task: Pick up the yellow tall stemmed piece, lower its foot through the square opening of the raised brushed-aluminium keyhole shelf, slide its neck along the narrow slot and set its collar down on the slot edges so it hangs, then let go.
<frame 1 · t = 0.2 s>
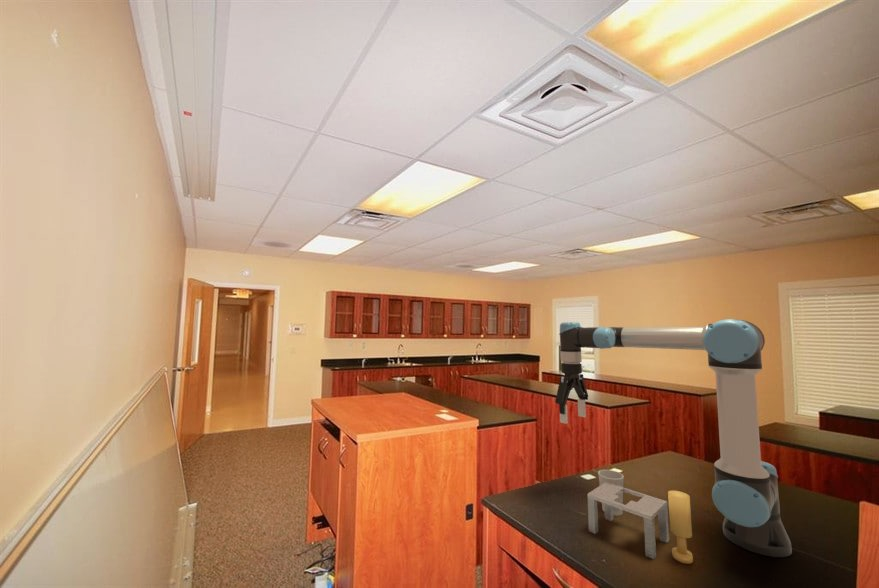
hand: (573, 419, 135), 28 cm above the counter, fingers open, 13 cm apart
cup: (612, 511, 122), on the counter
yellow tall stemmed piece: (682, 558, 97), on the counter
keyhole shelf: (628, 535, 108), on the counter
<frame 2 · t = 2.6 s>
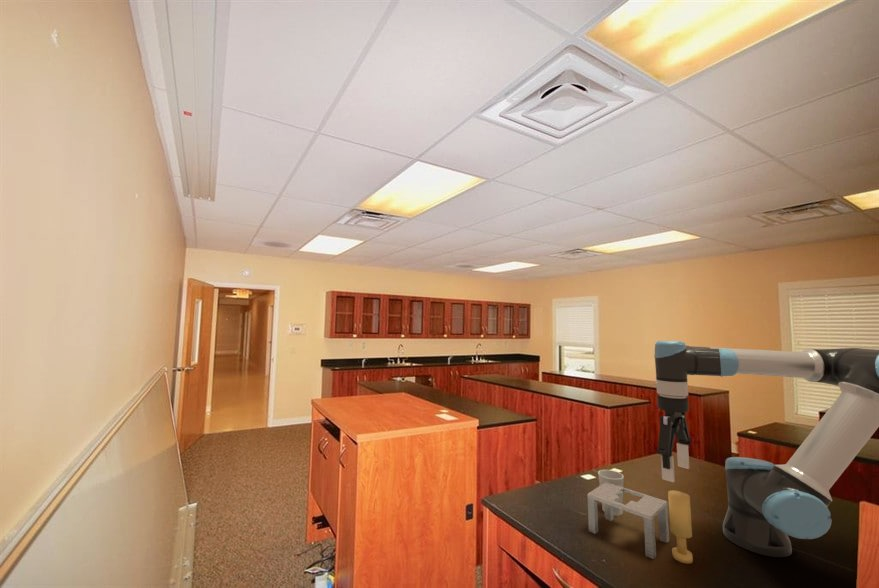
hand: (676, 473, 99), 22 cm above the counter, fingers open, 13 cm apart
nothing on the counter moved.
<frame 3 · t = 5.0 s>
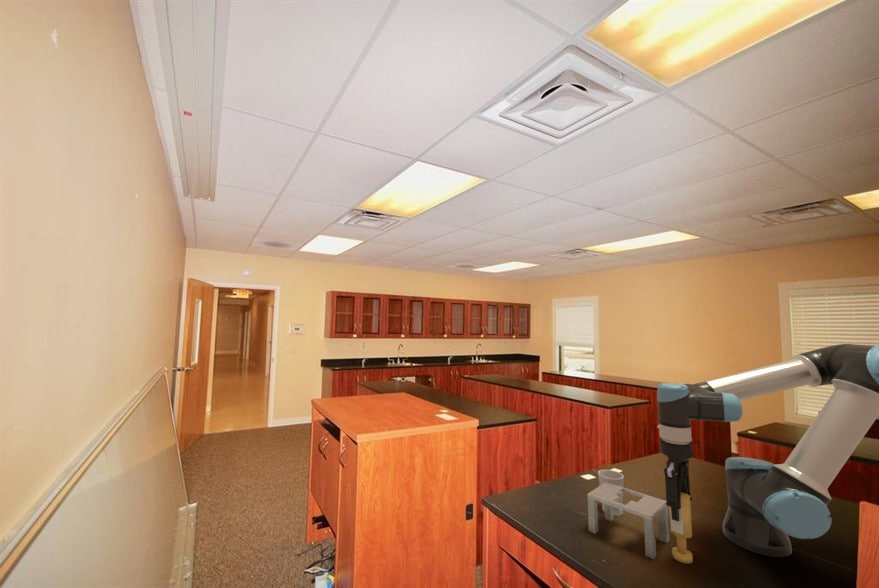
hand: (680, 527, 98), 8 cm above the counter, fingers closed on yellow tall stemmed piece, 5 cm apart
yellow tall stemmed piece: (682, 558, 97), on the counter, touching gripper
everything else where it was.
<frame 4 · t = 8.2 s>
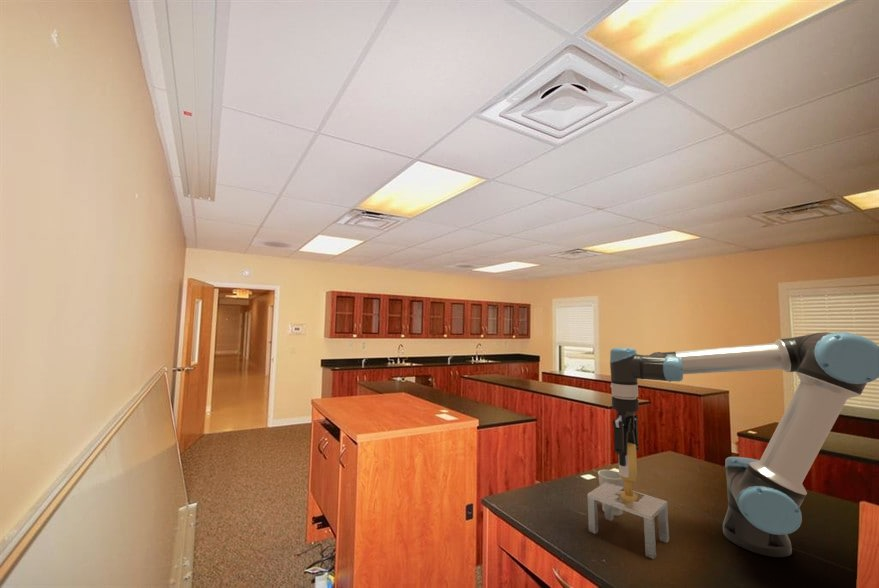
hand: (627, 473, 111), 17 cm above the counter, fingers closed on yellow tall stemmed piece, 5 cm apart
yellow tall stemmed piece: (628, 499, 110), point 10 cm above the counter, touching gripper
everything else where it was.
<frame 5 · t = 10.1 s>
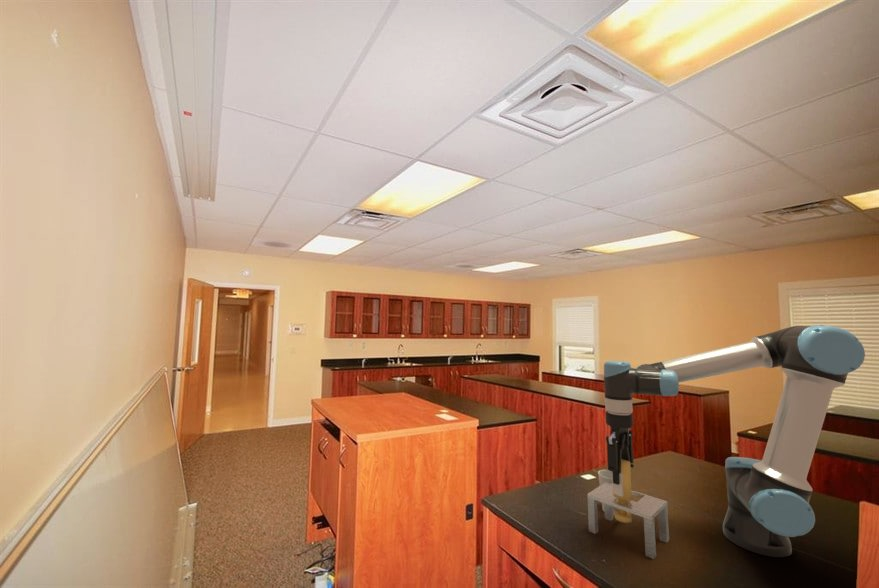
hand: (622, 491, 107), 13 cm above the counter, fingers closed on yellow tall stemmed piece, 5 cm apart
yellow tall stemmed piece: (623, 518, 107), point 6 cm above the counter, touching gripper
everything else where it was.
when the fingers open (12 cm above the counter, at t = 11.4 s): yellow tall stemmed piece stays where it is, resting on keyhole shelf.
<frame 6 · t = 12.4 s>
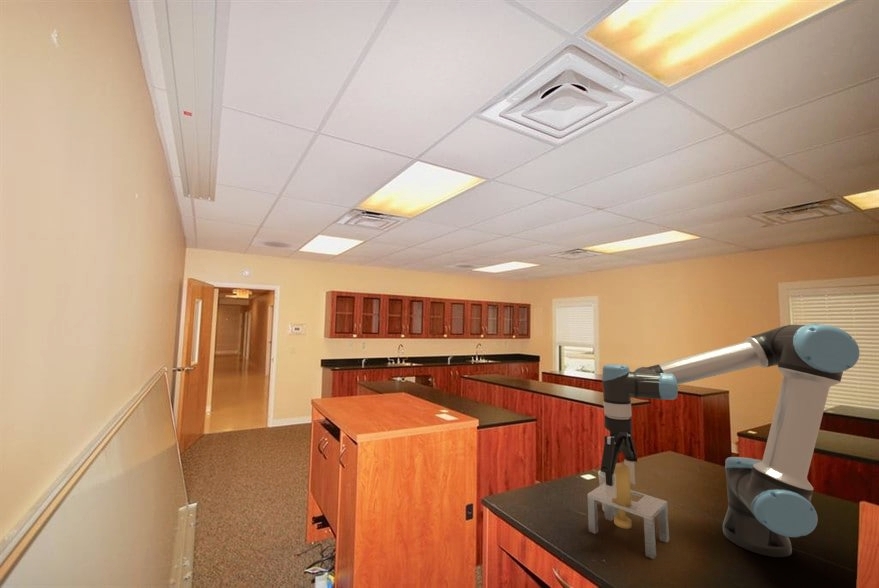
hand: (621, 489, 107), 14 cm above the counter, fingers open, 13 cm apart
yellow tall stemmed piece: (622, 524, 106), point 4 cm above the counter, touching keyhole shelf
everything else where it was.
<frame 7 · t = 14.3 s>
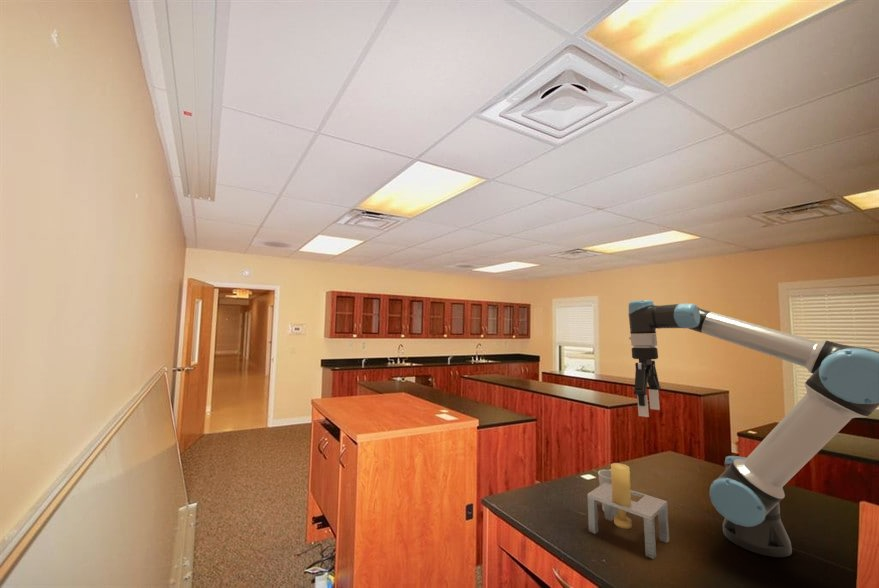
hand: (649, 412, 117), 35 cm above the counter, fingers open, 13 cm apart
nothing on the counter moved.
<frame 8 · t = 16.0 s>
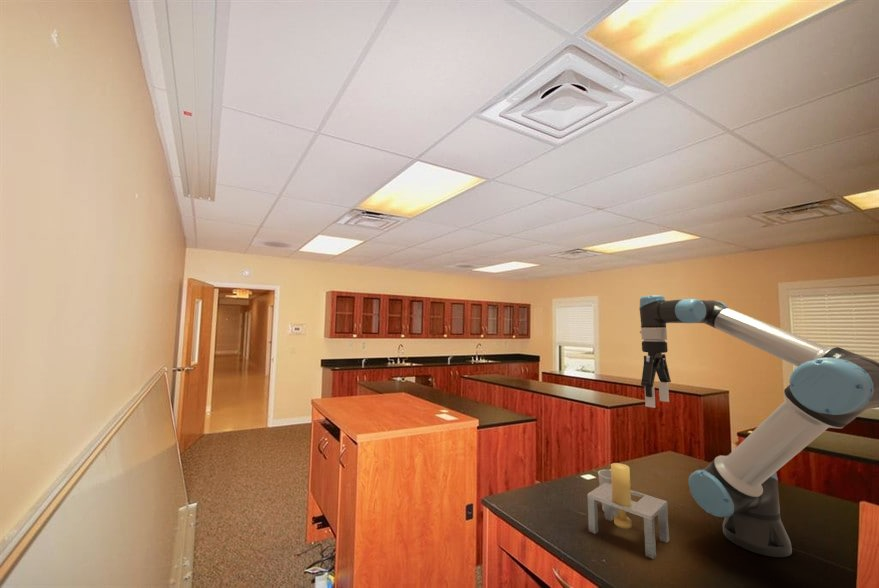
hand: (657, 404, 121), 37 cm above the counter, fingers open, 13 cm apart
nothing on the counter moved.
at the end: yellow tall stemmed piece 0.6 cm from the target spot on the keyhole shelf, point 4.5 cm above the keyhole shelf's base; yellow tall stemmed piece touching keyhole shelf; the gripper is holding nothing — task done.
